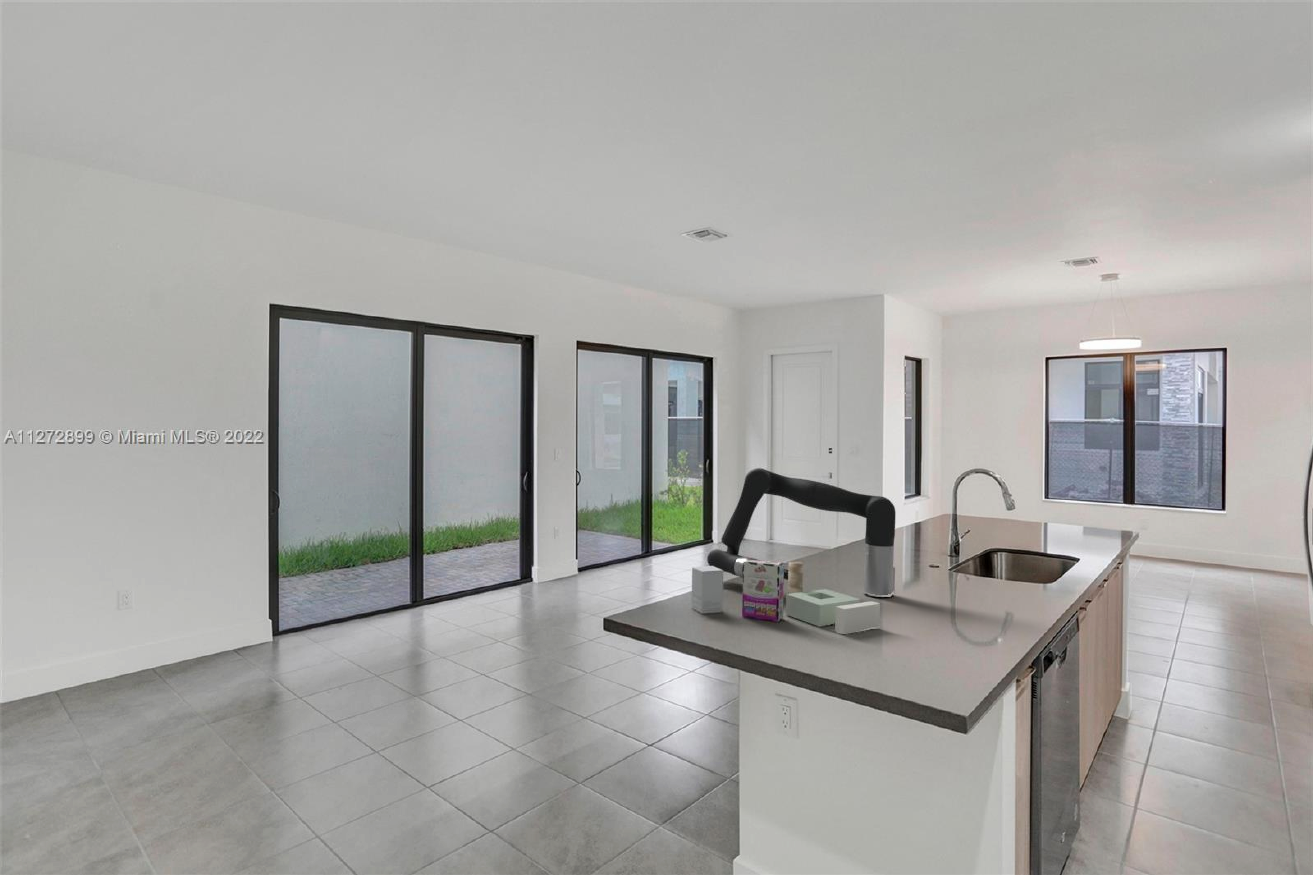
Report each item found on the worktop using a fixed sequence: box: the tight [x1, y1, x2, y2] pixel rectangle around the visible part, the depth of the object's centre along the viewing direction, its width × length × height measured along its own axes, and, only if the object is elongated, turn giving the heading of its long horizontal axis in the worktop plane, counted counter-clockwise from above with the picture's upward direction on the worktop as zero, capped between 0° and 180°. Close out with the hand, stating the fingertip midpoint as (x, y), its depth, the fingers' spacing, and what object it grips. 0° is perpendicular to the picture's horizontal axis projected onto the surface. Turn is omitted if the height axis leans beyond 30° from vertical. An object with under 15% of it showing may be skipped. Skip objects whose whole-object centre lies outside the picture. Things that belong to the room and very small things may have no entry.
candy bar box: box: [741, 559, 785, 623], centre depth 196 cm, size 11×5×16 cm, turn 62°
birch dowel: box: [787, 561, 804, 594], centre depth 208 cm, size 4×4×14 cm
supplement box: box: [690, 565, 724, 614], centre depth 203 cm, size 7×7×13 cm
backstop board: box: [834, 600, 881, 634], centre depth 186 cm, size 14×3×7 cm, turn 120°
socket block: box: [785, 588, 862, 628], centre depth 197 cm, size 16×14×6 cm
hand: (782, 578), depth 213 cm, fingers open, 8 cm apart
